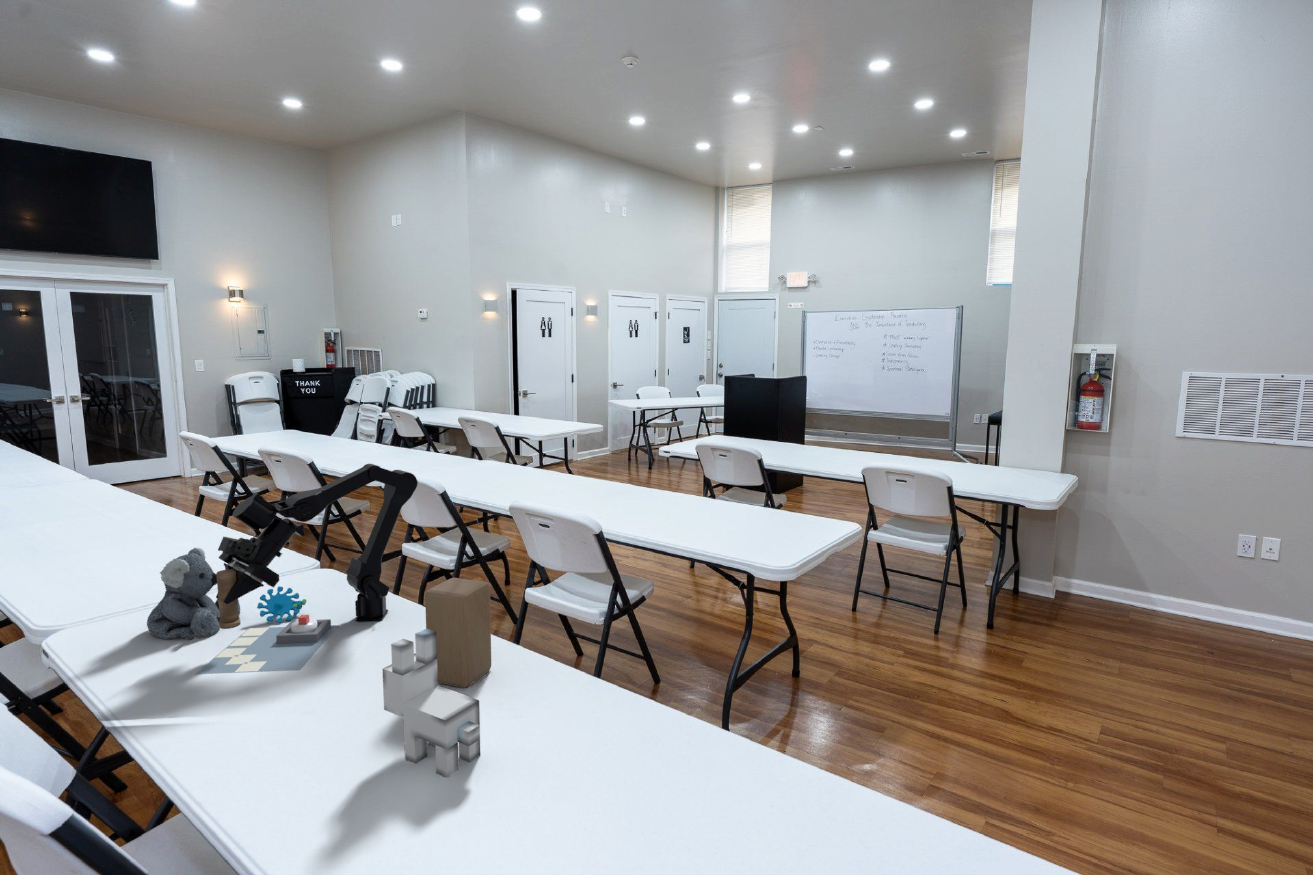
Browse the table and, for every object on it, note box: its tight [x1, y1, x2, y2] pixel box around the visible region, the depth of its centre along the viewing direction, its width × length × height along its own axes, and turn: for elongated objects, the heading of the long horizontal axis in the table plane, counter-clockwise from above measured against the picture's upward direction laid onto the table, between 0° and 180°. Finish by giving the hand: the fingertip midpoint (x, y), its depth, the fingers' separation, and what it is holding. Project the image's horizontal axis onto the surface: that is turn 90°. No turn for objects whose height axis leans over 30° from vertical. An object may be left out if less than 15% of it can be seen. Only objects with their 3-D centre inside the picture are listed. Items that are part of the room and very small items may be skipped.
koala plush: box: [146, 547, 241, 640], centre depth 166 cm, size 17×18×20 cm
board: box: [195, 618, 340, 675], centre depth 156 cm, size 21×24×3 cm
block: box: [424, 577, 492, 689], centre depth 144 cm, size 10×10×20 cm
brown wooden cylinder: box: [215, 569, 241, 630], centre depth 151 cm, size 4×4×12 cm
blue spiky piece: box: [256, 585, 307, 624], centre depth 176 cm, size 11×6×10 cm
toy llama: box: [382, 628, 481, 779], centre depth 116 cm, size 8×18×20 cm, turn 60°
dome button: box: [291, 614, 318, 633], centre depth 162 cm, size 6×6×4 cm
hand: (221, 600), depth 150 cm, fingers closed on brown wooden cylinder, 4 cm apart
